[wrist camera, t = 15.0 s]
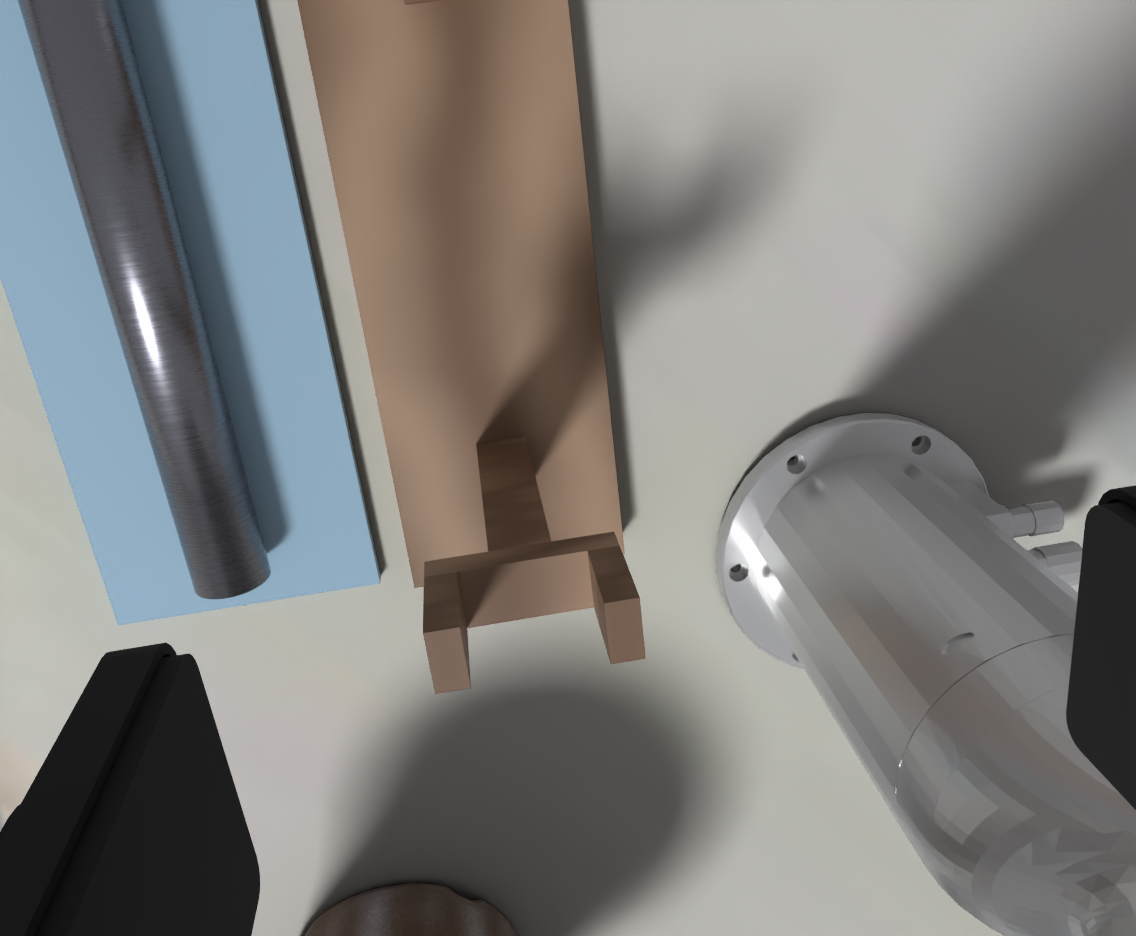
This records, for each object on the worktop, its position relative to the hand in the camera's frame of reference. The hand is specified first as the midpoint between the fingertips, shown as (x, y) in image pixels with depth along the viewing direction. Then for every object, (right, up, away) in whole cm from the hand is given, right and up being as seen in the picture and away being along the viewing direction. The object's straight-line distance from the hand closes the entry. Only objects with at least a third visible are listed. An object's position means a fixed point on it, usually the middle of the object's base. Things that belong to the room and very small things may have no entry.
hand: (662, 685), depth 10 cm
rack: (-5, +11, +28) cm, 30 cm away
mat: (-16, +11, +26) cm, 33 cm away
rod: (-16, +11, +26) cm, 32 cm away
